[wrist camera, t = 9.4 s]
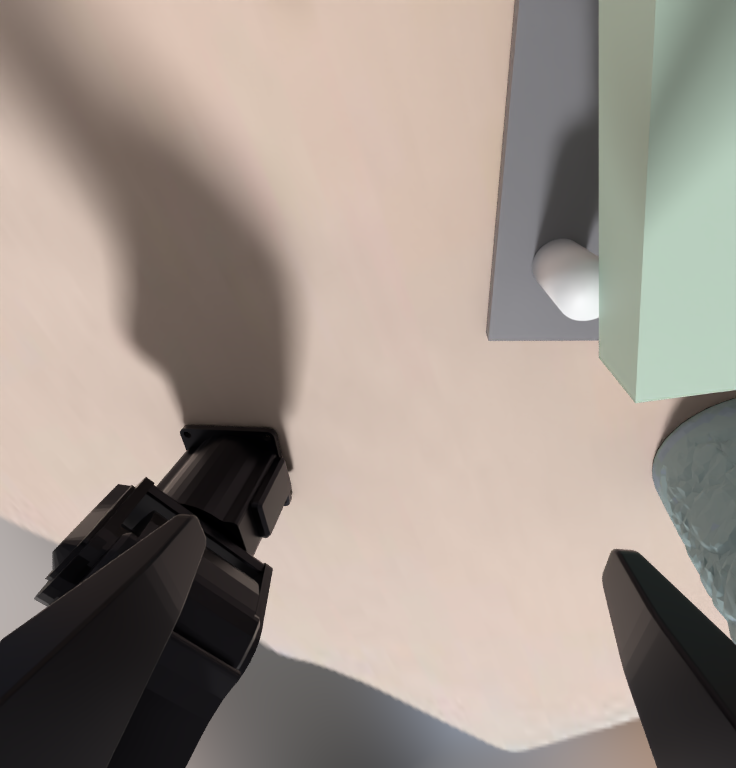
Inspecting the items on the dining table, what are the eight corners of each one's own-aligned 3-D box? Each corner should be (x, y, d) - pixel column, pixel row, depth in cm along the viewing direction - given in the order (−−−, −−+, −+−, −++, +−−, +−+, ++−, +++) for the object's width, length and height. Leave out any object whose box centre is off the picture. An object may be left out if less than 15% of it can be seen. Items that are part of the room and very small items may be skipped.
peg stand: (486, 332, 19) (499, 382, 15) (561, -530, 9) (678, -1177, 5) (689, 331, 18) (770, 386, 13) (1074, -713, 7) (1976, -1945, 3)
